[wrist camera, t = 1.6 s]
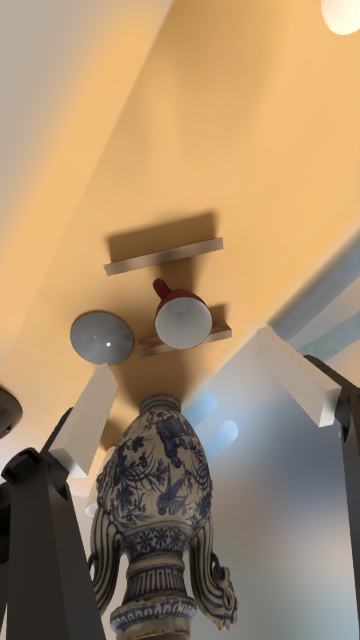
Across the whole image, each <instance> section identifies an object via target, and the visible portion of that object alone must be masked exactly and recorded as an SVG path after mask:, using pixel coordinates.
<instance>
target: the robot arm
mask: <svg viewBox="0 0 360 640" xmlns="http://www.w3.org/2000/svg"><path fill="white" fill-rule="evenodd" d="M257 333H258V334H257V335H258V356H259V357H260V358H261V359H262V361H263V362H264V363H265V364H266V365H267V367H268V368H269V369H270V370H271V371H272V372H273V374H274V375H275V376H276V377H277V378H278V379H279V381H280V382H281V383H282V384H283V385H284V387H285V388H286V389H287V390H288V391H289V392H290V394H291V395H292V396H293V397H294V398H295V400H296V401H297V402H298V403H299V404H300V405H301V407H302V408H303V409H304V410H305V411H306V412H307V414H308V415H309V416H310V417H311V418H312V420H313V421H314V422H315V423H316V424H317V425H318V427H322V426H326V425H331V424H333V421H334V417H335V418H337V420H338V421H339V422H340V423H341V426H340V429H339V434H338V436H339V437H341V441H342V450H343V462H344V472H345V483H346V493H347V504H348V514H349V525H350V536H351V546H352V557H353V568H354V578H355V589H356V599H357V610H358V621H359V633H360V388H358V387H356V386H355V385H353V384H352V383H351V382H349V381H348V380H346V379H345V378H344V377H343V376H341V375H340V374H338V373H337V372H336V371H334V370H332V369H331V368H330V367H329V366H327V365H326V364H325V363H323V362H322V361H321V360H319V359H318V358H315V357H313V356H311V355H305V356H302V355H301V354H299V353H298V352H297V351H296V350H294V349H293V348H292V347H291V346H289V345H288V344H287V343H286V342H284V341H283V340H282V339H281V338H279V337H278V336H277V335H275V334H274V333H273V332H272V331H270V330H269V329H268V328H267V327H265V328H260V329H257ZM118 387H119V386H118V384H117V382H116V380H115V378H114V376H113V374H112V372H111V370H110V368H109V366H108V364H107V363H105V364H100V365H98V367H97V368H96V370H95V372H94V373H93V375H92V377H91V379H90V380H89V382H88V384H87V385H86V387H85V389H84V391H83V392H82V394H81V396H80V397H79V399H78V401H77V403H76V404H75V406H74V407H72V408H69V410H68V411H67V412H66V413H65V414H64V415H63V416H62V418H61V419H60V421H59V423H58V425H57V426H56V427H55V429H54V431H53V432H52V434H51V435H50V437H49V439H48V440H47V442H46V443H45V445H44V447H43V448H42V450H41V452H40V453H38V452H37V451H36V450H35V449H34V448H31V447H30V448H27V449H24V450H22V451H21V452H19V453H18V454H17V455H15V456H14V457H13V458H12V459H11V460H10V461H9V462H8V463H7V464H6V466H5V467H4V469H3V470H2V473H1V477H3V478H4V479H5V480H6V482H4V483H2V484H0V632H1V628H2V624H3V619H4V614H5V610H6V605H7V629H6V640H106V637H105V633H104V629H103V625H102V621H101V617H100V612H99V608H98V604H97V600H96V596H95V592H94V588H93V584H92V580H91V576H90V571H89V567H88V563H87V559H86V555H85V551H84V547H83V543H82V539H81V535H80V531H79V526H78V522H77V518H76V514H75V510H74V506H73V502H72V498H71V493H70V489H69V485H68V483H67V482H66V480H67V477H68V475H69V474H70V475H71V476H72V477H73V478H74V479H76V478H81V477H86V476H88V473H89V470H90V467H91V464H92V461H93V458H94V456H95V453H96V450H97V447H98V444H99V441H100V438H101V436H102V433H103V430H104V427H105V424H106V421H107V418H108V415H109V413H110V410H111V407H112V404H113V401H114V398H115V395H116V393H117V390H118ZM21 418H22V409H21V407H20V405H19V403H18V402H17V401H16V400H15V399H14V398H13V397H12V396H11V395H9V394H8V393H6V392H4V391H3V390H0V439H2V438H3V437H4V436H6V435H7V434H8V433H10V432H11V431H12V430H13V429H14V427H15V426H16V425H17V424H18V423H19V421H20V420H21ZM359 635H360V634H359ZM359 640H360V636H359Z"/></svg>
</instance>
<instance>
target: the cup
mask: <svg viewBox="0 0 360 640" xmlns="http://www.w3.org/2000/svg"><path fill="white" fill-rule="evenodd" d="M115 447H116V446H113V447H111V448H109V449H108V450H107V453H106V455H105V457H104V460H103V462H102V465H101V467H100V469H99V472H98V474H97V476H96V479H97V477H98V475H99V474H100V473H102V472H103V468H104V466H105V465H106V463H107V462H108V461H109V460H110V458H111V456H112V454H113V452H114V449H115ZM96 479H95V481H94V483H93V486H92V488H91V491H90V494H89V498H88V502H87V505H86V509H85V514H86V515H87V516H88V517H89V518H92V519H94V515H95V512H96V510H97V507H98V505H97V501H96V500H97V496H98V491H97V490H96V485H97V482H96Z"/></svg>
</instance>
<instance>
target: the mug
mask: <svg viewBox="0 0 360 640" xmlns="http://www.w3.org/2000/svg"><path fill="white" fill-rule="evenodd" d="M153 287H154V289H155V291H156V293H157V294H158V296H159V297H160V298H161V302H160V304H159V306H158V308H157V311H156V316H155V330H156V333H157V335H158V337H159V338H160V340H161V341H162V342H163V343H164V344H166V345H167V346H169V347H171V348H174V349H181V350H184V349H191V348H194V347H196V346H198V345H200V344H201V343H202V342H204V341H205V340H206V338H207V337H208V336H209V334H210V332H211V329H212V323H213V321H212V315H211V312H210V310H209V308H208V307H207V305H206V304H205V302H204V301H203V300H202V299H201V298H200V297H198V296H197V295H195V294H193V293H191V292H188V291H186V290H175V291H170V289H169V288H168V286H167V285H166V283H165V282H164V281H163V280H162V279H156V280H155V281H154V282H153Z"/></svg>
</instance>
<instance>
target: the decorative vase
mask: <svg viewBox="0 0 360 640" xmlns="http://www.w3.org/2000/svg"><path fill="white" fill-rule="evenodd" d="M139 413H140V415H139V416H138V417H137V418H136V419H135V420H134V421H133V422H132V423H131V424H130V425H129V427H128V428H127V429H126V431H125V432H124V433H123V435H122V436H121V438H120V440H119V441H118V443H117V445H116V447H115V449H114V452H113V454H112V456H111V458H110V460H109V461H108V462H107V463H106V465H105V466H104V468H103V472H102V473H100V474H99V475H98V477H97V479H96V482H97V485H96V490H97V491H98V496H97V500H96V501H97V505H98V507H97V510H96V512H95V515H94V519H93V523H92V529H91V538H90V545H91V555H90V557H89V559H88V567H89V571H90V569H91V566H92V564H94V568H95V572H94V580H93V581H92V584H93V588H94V592H95V596H96V600H97V604H98V608H99V612H100V617H102V615H103V614H104V612H105V610H106V609H107V607H108V605H109V603H110V601H111V599H112V597H113V594H114V591H115V586H116V582H117V577H118V571H119V563H120V557H121V556H122V555H123V554H126V555H127V557H128V561H129V566H128V569H127V572H126V579H127V588H126V592H125V595H124V598H123V602H122V605H121V606H120V607H118V608H116V609H115V610H114V611H113V612H112V613H111V615H110V626H111V629H112V630H113V631H114V632H115V633H116V634H117V636H116V640H189V638H190V623H191V621H192V620H193V619H194V617H195V616H196V613H197V605H198V607H199V609H200V611H201V612H202V614H203V615H204V616H205V617H206V618H207V619H208V620H210V621H211V622H213V623H214V624H215V626H216V628H217V629H218V630H221V629H222V628H224V629H225V630H227V631H228V630H229V629H230V625H231V623H232V624H236V622H237V614H236V611H237V609H238V601H237V599H236V597H235V595H234V590H233V586H232V582H231V581H230V570H229V568H227V567H224V566H223V567H220V564H219V561H218V558H217V556H216V555H215V554H214V553H213V552H212V550H213V523H212V517H211V512H210V509H211V505H212V490H213V487H212V480H211V478H210V473H209V468H208V463H207V460H206V456H205V453H204V450H203V448H202V445H201V443H200V441H199V439H198V437H197V435H196V433H195V431H194V430H193V428H192V426H191V425H190V423H189V422H188V421H187V420H186V419H185V418H184V417H183V416H182V415H181V405H180V403H179V402H178V401H177V400H176V399H175V398H173V397H171V396H167V395H157V396H152V397H150V398H148V399H146V400H145V401H144V402H143V403H142V404H141V406H140V410H139ZM183 553H185V554H189V560H190V577H191V586H192V591H193V595H194V598H195V599H193V598H191V597H188V596H187V592H186V588H185V584H184V579H183V572H184V570H185V565H184V562H183V560H182V557H183ZM213 561H214V562H215V566H214V568H213V571H212V563H213Z"/></svg>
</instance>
